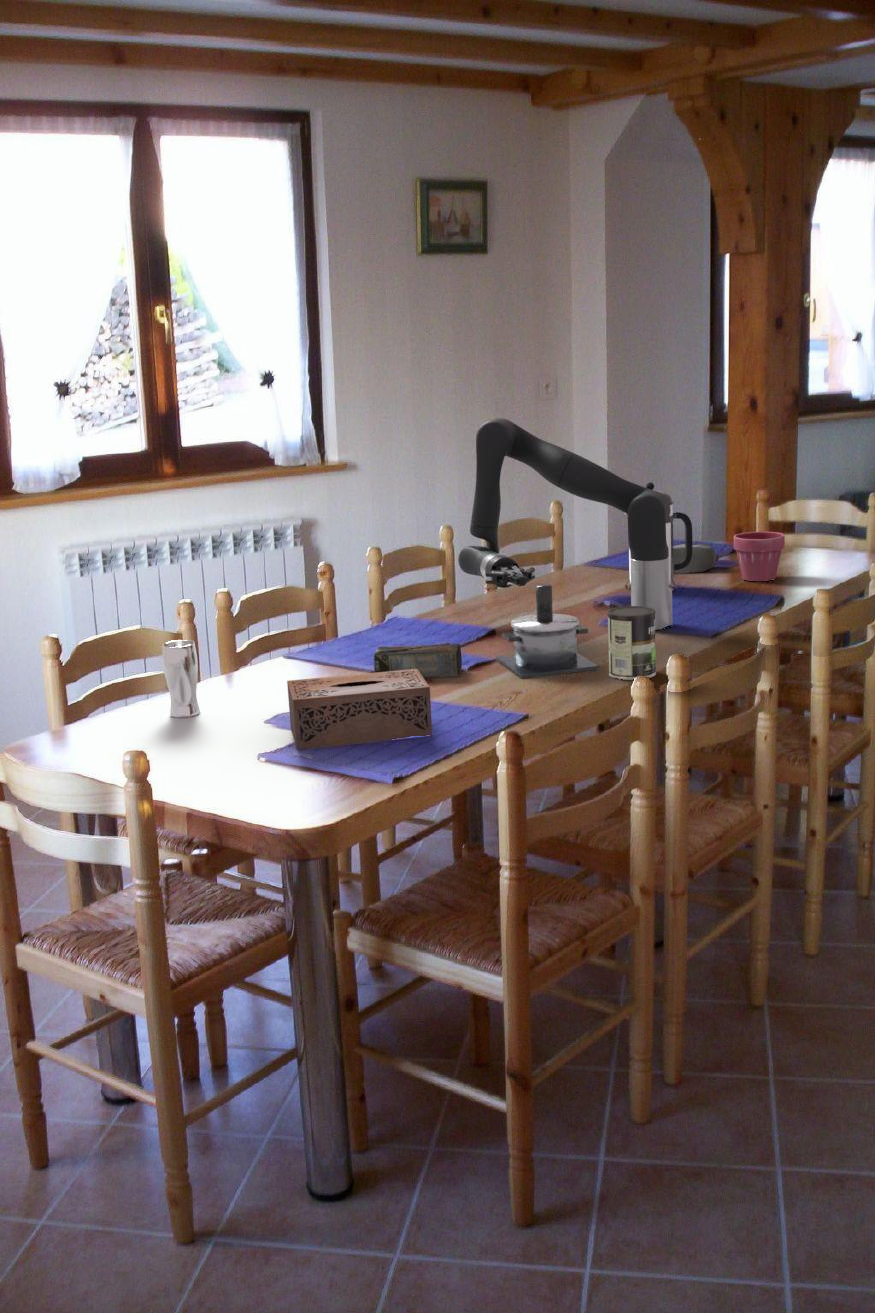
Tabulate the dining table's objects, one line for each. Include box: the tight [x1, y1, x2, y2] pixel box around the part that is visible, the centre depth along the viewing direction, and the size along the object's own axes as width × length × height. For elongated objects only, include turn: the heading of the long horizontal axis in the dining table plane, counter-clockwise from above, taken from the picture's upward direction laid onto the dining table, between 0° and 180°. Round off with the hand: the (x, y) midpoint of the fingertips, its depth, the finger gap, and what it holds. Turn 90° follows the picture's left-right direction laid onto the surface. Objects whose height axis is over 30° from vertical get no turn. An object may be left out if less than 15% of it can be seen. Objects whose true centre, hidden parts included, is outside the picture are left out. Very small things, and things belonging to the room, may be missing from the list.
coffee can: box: [606, 605, 657, 681], centre depth 297 cm, size 10×10×14 cm
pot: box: [495, 624, 599, 679], centre depth 309 cm, size 19×18×9 cm
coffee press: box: [623, 481, 693, 590], centre depth 383 cm, size 17×16×30 cm
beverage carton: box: [373, 642, 463, 679], centre depth 308 cm, size 8×19×7 cm, turn 85°
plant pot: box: [733, 531, 786, 581], centre depth 390 cm, size 14×14×13 cm
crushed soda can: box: [161, 639, 201, 719], centre depth 284 cm, size 7×7×15 cm
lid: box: [510, 583, 579, 633], centre depth 307 cm, size 15×15×9 cm
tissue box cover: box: [286, 669, 433, 751], centre depth 266 cm, size 26×14×10 cm, turn 100°
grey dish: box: [673, 543, 720, 575], centre depth 411 cm, size 18×11×8 cm, turn 81°
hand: (522, 581), depth 321 cm, fingers closed
